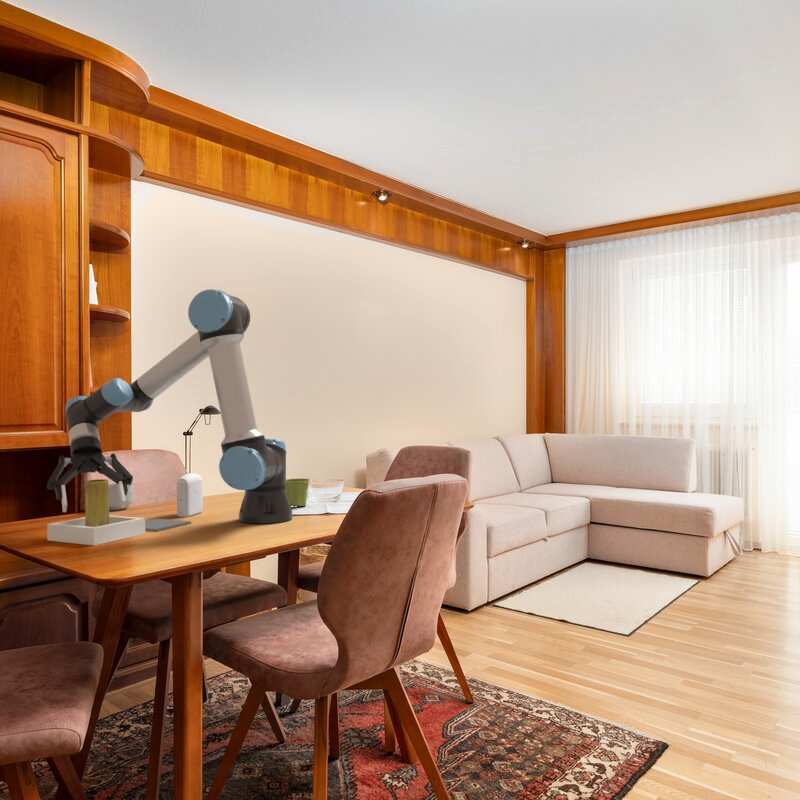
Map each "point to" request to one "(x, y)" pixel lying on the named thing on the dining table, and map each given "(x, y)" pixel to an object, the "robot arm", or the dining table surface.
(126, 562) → the dining table surface
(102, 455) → the robot arm
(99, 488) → the vase
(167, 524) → the mat
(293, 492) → the plant pot
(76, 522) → the tub
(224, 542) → the dining table surface
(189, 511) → the photo printer
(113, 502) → the teacup
